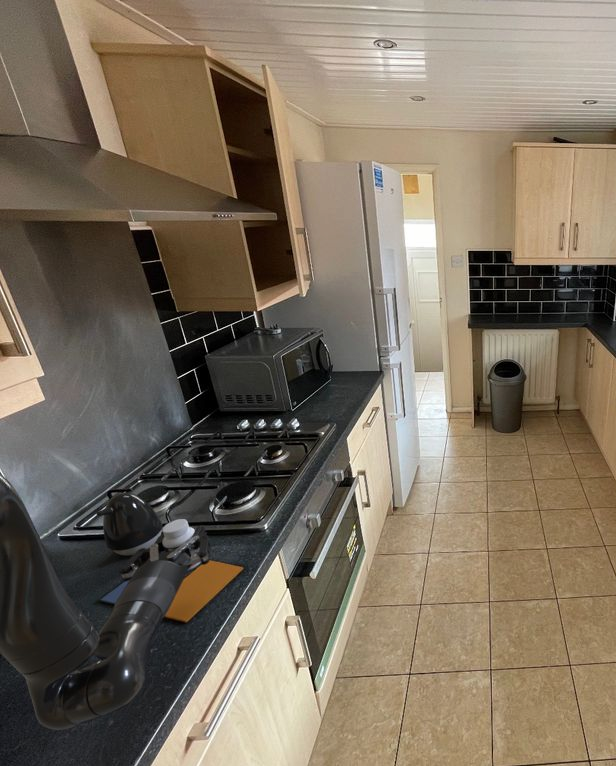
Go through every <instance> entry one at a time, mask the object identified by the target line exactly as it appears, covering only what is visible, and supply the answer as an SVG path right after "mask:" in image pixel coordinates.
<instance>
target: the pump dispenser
mask: <svg viewBox="0 0 616 766" xmlns="http://www.w3.org/2000/svg"><path fill="white" fill-rule="evenodd" d="M95 514H96V516H97V517H103V519H102V527H103V528H102V529H103V537H104V541H105V544H106V547H107V548H108V549H109V550H111V551H113V553H116V554H118V555H120V556H133V555H134V554H135V553H136V552H137V551H138V550H139V549H141V548H145V549H148V548H150V546H151V545H153V544H154V543H155V542H156V540H157V539H158V537H159V536H160V535H162V532H163V528H164V526H163V523H162V520H161V518H160V516H159V515H158V513H157V512H156V510H154V508H153V507H152V506H151V505H150V504H149V503H148V502H147V501H146V500H144V499H143V498H142V497H140V496H139V495H137V494H135V493H131V492H121V493H117V494H115V495H114V496H112V497H111V498H110V499H109V500H108V501H107V503H106V505H105V508H104V509H101V510H98V511H97V512H96V513H95Z"/></svg>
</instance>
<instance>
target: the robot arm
mask: <svg viewBox="0 0 616 766" xmlns="http://www.w3.org/2000/svg"><path fill="white" fill-rule="evenodd" d="M194 530H195V532H194V534H193V536H192V538H191V539H190V540H189V541H188V542H187V543H183V544H182V545H181V546H179V547H178V548H177V549H176V550H173V551H170V552H165V549H164V547H163V544H162V541H163V539H164V537H165V536H164V534H163V533H161V535H160V536H159V537H158V539H157V540H156V542H155V543H154V544H153V545H151V546H150V548H148V549H145V548H141V549H139V550H138V551H137V552H136V553H135V554H134V555H131V557H130V558H129V559H127V561H126V562H125V563H124V564H123V566H121V568H119V569H118V571H119V574H120V577H121V579H122V581H123V582H126V581H129V580H130V581H129V582H128V584H127V585H126V587H125V588H124V590H123V592H122V593H121V595H120V596H119V598H118V599H117V601H116V603H115V605H114V604H113V607H112V610H111V611H110V614H109V615H108V617H107V618H106V619H105V621H104V623H103V624H102V626H101V628H100V629H99V631H98V630H97V629H96V627H95V626H94V624H93V623H92V622H91V621H90V620H89V618H87V616H86V615H85V614H84V612H83V611H82V610H81V609H80V607H79V606H78V605H77V604H76V602H75V601H74V600H73V599H72V598H71V596H70V595H69V593H68V592H67V590H66V589H65V587H64V585H63V584H62V583H61V580H60V579H59V577H58V575H57V573H56V570H55V568H54V566H53V564H52V562H51V560H50V557H49V555H48V552H47V550H46V547H45V545H44V543H43V541H42V538H41V536H40V534H39V532H38V530H37V528H36V526H35V525H34V522H33V520H32V517H31V516H30V514H29V512H28V509H27V508H26V506H25V503H24V502H23V499H22V498H21V497H20V495H19V493H18V491H17V490H16V489H15V486H13V485H12V483H11V482H10V481H9V480H8V479H7V478H6V477H5V476H4V475H3V474H2V473H0V655H2V656H3V657H4V659H6V660H7V661H8V663H10V664H11V666H13V668H15V669H16V671H17V672H18V673H20V674H21V675H22V676H23V677H24V679H25V681H26V684H27V685H26V686H27V689H28V693H29V696H30V699H31V702H32V706H33V710H34V714H35V717H36V719H37V721H38V723H39V724H40V725H41V726H42V727H44V728H46V729H49V730H53V731H65V730H69V729H72V728H75V727H78V726H80V725H83V724H85V723H88V722H90V721H94V720H96V719H98V718H100V717H104V716H106V715H109V714H111V713H113V712H116V711H119V710H121V709H123V708H124V707H126V706H127V705H129V704H130V703H132V701H134V700H135V698H136V697H137V696H138V695H139V694H140V693H141V691H142V689H143V687H144V686H145V684H146V680H147V678H148V677H147V676H148V667H149V660H150V652H151V647H152V641H153V638H154V637H155V635H156V633H157V631H158V628H159V626H160V625H161V623H162V620H163V619H164V618H165V617H164V616H165V615H166V613H167V612H168V610H169V608H170V606H171V604H172V602H173V600H174V598H175V596H176V594H177V592H178V590H179V588H180V586H181V584H182V582H183V580H184V579H185V575H186V573H187V572H188V571H189V570H188V569H189V568H190V567H191V566H192V565H193V564H196V563H199V562H201V563H200V564H201V565H205V564H207V563H209V560H210V561H211V552H212V543H211V540H210V536H209V535H207V534H208V533H207V530H206V527H205V526H204V525H203V524H201V525H197V527H196V528H195V529H194ZM193 544H194V547H193V548H192V546H193ZM196 552H197V553H196ZM195 553H196V554H195ZM187 570H188V571H187ZM93 655H95V657H96V658H98V659H99V660H95V661H93V662H91V663H87V664H85V663H86V662H87V661H89V659H91V658H92V656H93Z"/></svg>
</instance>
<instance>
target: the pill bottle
mask: <svg viewBox="0 0 616 766" xmlns="http://www.w3.org/2000/svg"><path fill="white" fill-rule="evenodd" d="M195 530H196V529H194V527H191V526H190V525H189V523H188V521H187V519H184V518H179V519H175V520H172V521H170V522H168V523H167V524H165V525H164V526H163V527H162V534H164V536H165V537H164V539H163V541H162V544H163V547H164V549H165V550H164V552H170V551H173V550H176V549H177V548H178V547H179V546H181V545H182V544H183V543H187V542H188V541H189V540H190V539H191V538H192V536H193V534H194V532H195ZM193 547H194V544H193V546H192V548H193ZM196 553H197V552H196ZM196 553H195V554H196ZM200 564H202V563H201V562H199V563H196V564H193V565H192V566H191V567H190V568H189V569H188V570H187V571H186V572H188V571H190V570H192V569H195V568H197V567H198V566H200Z"/></svg>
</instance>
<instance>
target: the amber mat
mask: <svg viewBox="0 0 616 766" xmlns="http://www.w3.org/2000/svg"><path fill="white" fill-rule="evenodd" d="M243 570H244V567H243V566H239V565H233V564H229V563H224V562H219V561H216V560H215V561H214V560H211V559H210V560H209V563H207V564H205V565H202V564H201V565H200V564H199V565H198V566H197V567H196V569H195V570H193V571H192V572H191V573H190V574H189V575H187V576H186V577H184V579H183V582H182V584H181V586H180V588H179V590H178V592H177V594H176V596H175V598H174V600H173V602H172V604H171V606H170V608H169V610H168V612H167V613H166V615H165V616H164V617H163V618H166V619H170V620H173V621H174V620H175V621H178V622H182V623H188V622H189V621H190V620H191V619H192V618H193V617H195V615H196V614H197V613H199V612H200V611H201V610H202V609H203V608H204V607H205V606H206V605H207V604H209V602H210V601H211V600H212V599H213V598H215V597H216V596H217V595H218V594H219V593H220V592H221V591H222V590H223V589H224V588H225V587H226V586H227V585H228V584H229V583H230V582H231V581H233V579H234V578H236V577H237V576H238V575H239V574H240V573H241V572H242V571H243Z"/></svg>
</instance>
